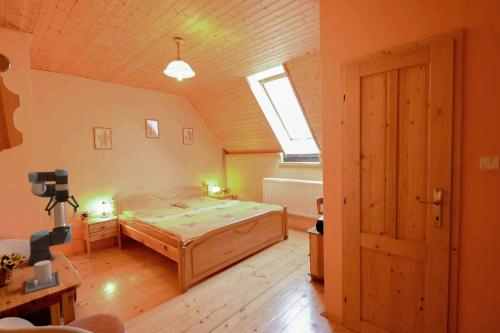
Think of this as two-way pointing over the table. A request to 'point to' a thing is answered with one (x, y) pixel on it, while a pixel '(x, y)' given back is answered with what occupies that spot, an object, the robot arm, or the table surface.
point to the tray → (33, 285)
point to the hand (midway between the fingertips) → (62, 218)
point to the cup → (42, 271)
